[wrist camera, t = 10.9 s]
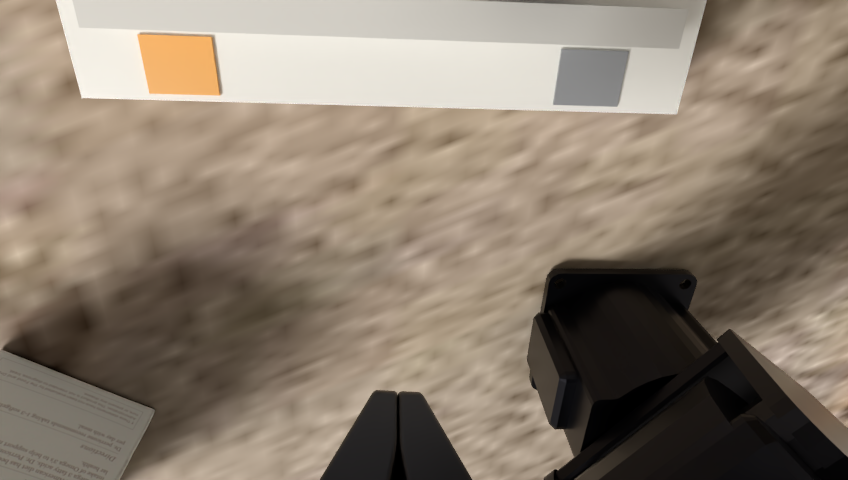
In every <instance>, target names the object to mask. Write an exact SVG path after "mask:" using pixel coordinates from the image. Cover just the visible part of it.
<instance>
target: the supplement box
mask: <svg viewBox="0 0 848 480" xmlns="http://www.w3.org/2000/svg"><path fill="white" fill-rule="evenodd" d="M154 412H155V410H154V409H152V408H149V407H147V406H144V405H141V404H139V403H136V402H133V401H131V400H128V399H125V398H123V397H120V396H118V395H115V394H113V393H110V392H108V391H105V390H103V389H100V388H98V387H95V386H92V385H90V384H87V383H85V382H82V381H80V380H77V379H75V378H72V377H69V376H67V375H64V374H62V373H59V372H57V371H54V370H52V369H49V368H47V367H44V366H42V365H39V364H37V363H34V362H32V361H29V360H27V359H24V358H21V357H19V356H16V355H14V354H11V353H9V352H6V351H4V350H0V480H120V478H121V476H122V474H123V473H124V471H125V469H126V467H127V465H128V463H129V461H130V459H131V457H132V455H133V453H134V451H135V450H136V448H137V446H138V444H139V442H140V440H141V439H142V437H143V435H144V433H145V431H146V429H147V427H148V426H149V424H150V421H151V419H152V417H153V415H154Z"/></svg>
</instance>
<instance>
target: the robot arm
mask: <svg viewBox="0 0 848 480" xmlns="http://www.w3.org/2000/svg"><path fill="white" fill-rule="evenodd" d="M561 278H562V279H563V281H562V282H561V283H558V284H555V281H556V280H558V279H561ZM683 280H686V281H685V282H684V283H683V284H680V283H681V281H683ZM696 284H697V280H696V277H695V276H694V275H693V274H692V273H690V272H689V271H688V270H661V269H555V270H553V271H551V272H550V273H549V274H548V275H547V278H546V283H545V289H544V295H543V300H542V306H541V312H540V313H538V314H537V315H536V316H535V317H534V319H533V325H532V331H531V337H530V343H529V349H528V355H527V362H528V364H529V367H530V376H529V378H530V382H531V385H532V387H533V388H534V389H536V390H538V393H539V396H540V399H541V402H542V405H543V407H544V410H545V413H546V416H547V419H548V422H549V424H550V425H551V426H552V427H553V428H554V429H564V432H565V434H566V437H567V440H568V442H569V445H570V448H571V450H572V453H573V456H574V458H573V459H572V460H570V461H569V462H568V463H567V464H565V465H564V466H563V467H562V468H560V469H559V470H553V471H552V472H551V473H550V474H548V475H547V476H546V477H545V478H544V480H848V428H846V427H845V426H844V425H843V424H842V423H841V422H840V421H839V420H838V419H837V418H836V417H835V416H834V415H833V414H832V413H831V412H830V411H828V410H827V409H826V408H825V407H824V406H823V405H822V404H821V403H820V402H819V401H818V400H817V399H816V398H815V397H814V396H813V395H811V394H810V393H809V392H808V391H807V390H806V389H805V388H803V387H802V386H801V385H800V384H798V383H797V382H796V381H795V380H793V379H792V378H791V377H790V376H788V375H787V374H786V373H785V372H783V371H782V370H781V369H780V368H779V367H777V366H776V365H775V364H774V363H772V362H771V361H770V360H769V359H767V358H766V357H765V356H764V355H762V354H761V353H760V352H759V351H757V350H756V349H755V348H754V347H752V346H751V345H750V344H749V343H747V342H746V341H745V340H744V339H742V338H741V337H740V336H739V335H737V334H736V333H735V332H734V331H732V330H731V329H729V330H728V331H726V332H725V333H724V334H723V335H721V336H720V337H719V338H718V339H717V341H718V343H717V342H716V341H715V340H714V339H713V338H712V337H711V335H710V334H709V333H708V332H707V331H706V330H705V329H704V328H703V327H702V325H701V324H700V323H699V322H698V321H697V320H696V319H695V318H694V317H693V315H692V314H691V313H690V312H689V311H688V309H689V305H690V302H691V299H692V296H693V293H694V290H695V287H696ZM320 480H472V479H471V477H470V475H469V473H468V472H467V470H466V468H465V467H464V465H463V463H462V461H461V460H460V458H459V456H458V455H457V453H456V451H455V449H454V448H453V446H452V444H451V442H450V441H449V439H448V437H447V436H446V434H445V432H444V430H443V429H442V427H441V425H440V424H439V422H438V420H437V418H436V417H435V415H434V413H433V412H432V410H431V408H430V406H429V405H428V403H427V401H426V400H425V398H424V396H423V395H422V394H421V393H419V392H404V391H402V392H399V394H398V395H397V393H396V392H395V391H384V390H376V391H374V392H373V393H372V395H371V396H370V398H369V400H368V401H367V403H366V405H365V406H364V408H363V410H362V411H361V413H360V415H359V416H358V418H357V419H356V421H355V423H354V424H353V426H352V428H351V429H350V431H349V433H348V434H347V436H346V438H345V439H344V441H343V442H342V444H341V446H340V447H339V449H338V451H337V452H336V454H335V456H334V457H333V459H332V461H331V462H330V464H329V466H328V467H327V469H326V470H325V472H324V474H323V475H322V477H321V479H320Z"/></svg>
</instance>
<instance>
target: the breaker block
mask: <svg viewBox="0 0 848 480" xmlns="http://www.w3.org/2000/svg"><path fill="white" fill-rule="evenodd" d="M706 2H707V0H56V3H57V7H58V10H59V14H60V18H61V22H62V25H63V29H64V33H65V37H66V40H67V44H68V48H69V52H70V55H71V59H72V63H73V67H74V70H75V74H76V78H77V82H78V85H79V89H80V93H81V97H82V98H102V99H139V100H175V101H212V102H248V103H285V104H321V105H358V106H394V107H431V108H467V109H504V110H541V111H577V112H614V113H650V114H677V112H678V108H679V104H680V100H681V96H682V93H683V89H684V85H685V81H686V78H687V74H688V70H689V66H690V62H691V59H692V55H693V51H694V47H695V43H696V40H697V36H698V32H699V28H700V25H701V21H702V17H703V13H704V9H705V6H706Z"/></svg>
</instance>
